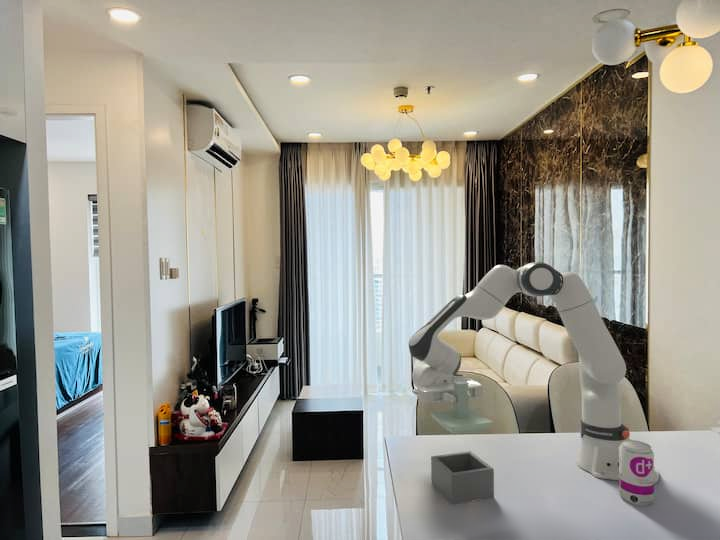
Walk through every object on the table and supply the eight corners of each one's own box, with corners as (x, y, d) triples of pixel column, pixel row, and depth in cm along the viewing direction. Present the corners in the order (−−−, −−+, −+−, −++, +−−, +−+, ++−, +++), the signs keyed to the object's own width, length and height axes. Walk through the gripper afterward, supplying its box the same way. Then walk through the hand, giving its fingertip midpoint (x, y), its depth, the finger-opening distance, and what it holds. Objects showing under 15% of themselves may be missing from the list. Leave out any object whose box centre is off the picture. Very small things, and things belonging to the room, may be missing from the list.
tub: (470, 477, 143) (470, 451, 143) (493, 497, 131) (493, 468, 131) (431, 483, 140) (431, 456, 140) (451, 504, 127) (451, 475, 127)
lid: (469, 417, 143) (469, 375, 143) (493, 431, 131) (492, 386, 130) (430, 421, 140) (430, 379, 139) (451, 437, 127) (450, 390, 127)
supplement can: (659, 508, 124) (658, 451, 124) (625, 505, 126) (624, 449, 125) (647, 493, 132) (646, 440, 132) (615, 490, 133) (614, 438, 133)
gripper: (409, 379, 144) (428, 391, 131) (469, 374, 150) (493, 384, 137) (410, 400, 145) (428, 413, 131) (469, 393, 150) (493, 406, 137)
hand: (462, 399), depth 134 cm, fingers closed on lid, 3 cm apart
